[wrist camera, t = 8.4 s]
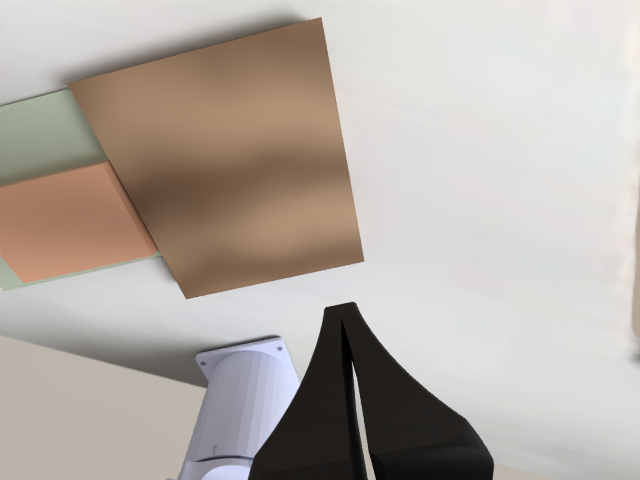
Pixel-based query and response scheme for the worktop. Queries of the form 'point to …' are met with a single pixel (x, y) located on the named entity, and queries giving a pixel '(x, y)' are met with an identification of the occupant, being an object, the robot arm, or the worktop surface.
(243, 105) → the block
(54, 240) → the tile
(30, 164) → the mat
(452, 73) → the worktop surface
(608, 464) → the worktop surface
